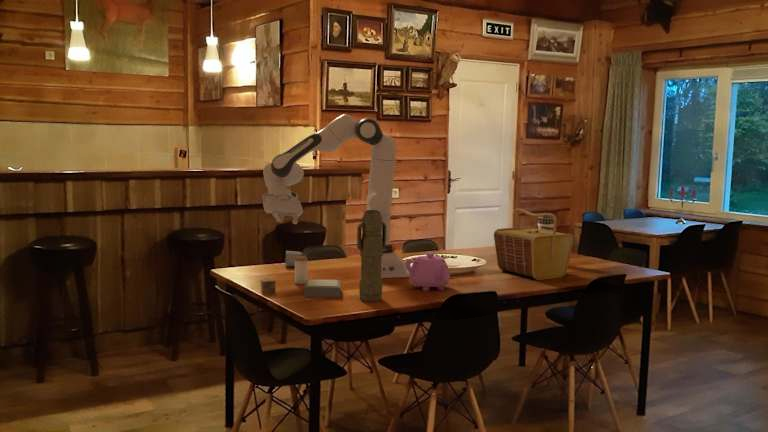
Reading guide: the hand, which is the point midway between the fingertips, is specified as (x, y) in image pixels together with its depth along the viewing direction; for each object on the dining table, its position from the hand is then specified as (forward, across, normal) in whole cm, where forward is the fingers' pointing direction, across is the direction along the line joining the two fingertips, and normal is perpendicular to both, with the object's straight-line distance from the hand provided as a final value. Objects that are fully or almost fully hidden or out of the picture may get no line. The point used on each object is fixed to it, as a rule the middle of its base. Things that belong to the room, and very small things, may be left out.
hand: (287, 222), depth 319 cm
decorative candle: (+38, +122, -47) cm, 136 cm away
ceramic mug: (+7, +23, +27) cm, 37 cm away
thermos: (+52, 0, -30) cm, 60 cm away
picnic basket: (+49, +92, -53) cm, 117 cm away
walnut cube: (+33, -20, +2) cm, 39 cm away
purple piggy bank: (+50, +32, -36) cm, 69 cm away
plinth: (+41, -6, -13) cm, 44 cm away
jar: (+28, +1, +4) cm, 28 cm away
